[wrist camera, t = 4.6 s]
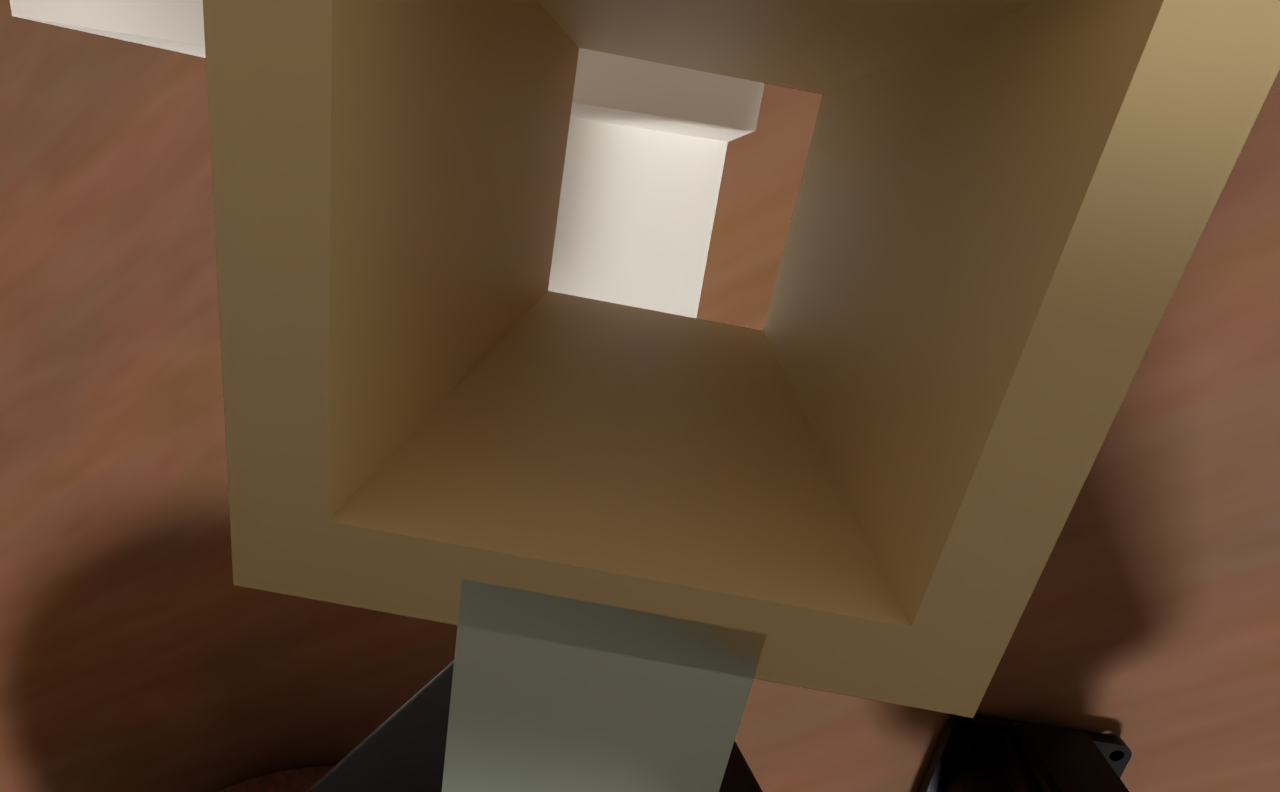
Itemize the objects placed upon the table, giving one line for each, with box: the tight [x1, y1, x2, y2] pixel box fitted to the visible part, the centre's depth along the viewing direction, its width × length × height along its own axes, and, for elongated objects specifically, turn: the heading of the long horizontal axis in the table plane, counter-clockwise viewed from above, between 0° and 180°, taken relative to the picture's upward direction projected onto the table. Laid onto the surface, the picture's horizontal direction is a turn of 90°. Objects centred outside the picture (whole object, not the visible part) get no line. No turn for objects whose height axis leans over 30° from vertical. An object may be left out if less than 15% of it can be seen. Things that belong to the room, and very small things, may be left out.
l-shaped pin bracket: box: [10, 0, 765, 318], centre depth 16 cm, size 17×12×8 cm
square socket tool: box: [203, 0, 1280, 792], centre depth 7 cm, size 14×4×6 cm, turn 170°
